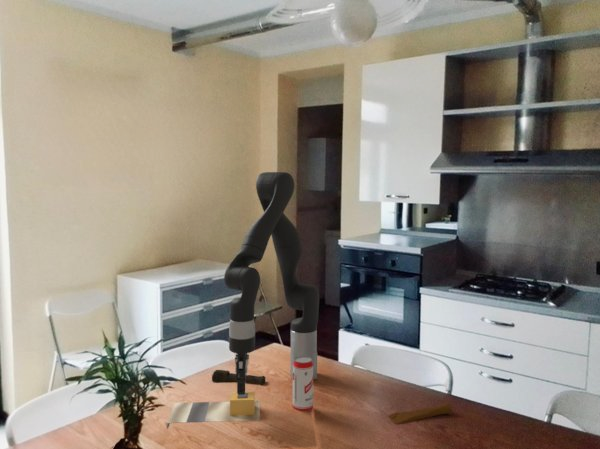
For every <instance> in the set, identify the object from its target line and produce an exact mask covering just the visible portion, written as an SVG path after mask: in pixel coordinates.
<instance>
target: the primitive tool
mask: <svg viewBox="0 0 600 449" xmlns="http://www.w3.org/2000/svg"><path fill="white" fill-rule="evenodd" d="M452 410H453V409H452V407H451V404H450V403H449V402H444V403H443V404H440V405H437V406H433V407H429V408H423V409H416V410H411V411H410V410H409V411H403V412H396V411H395V412H393V413H391V414H388V418H389V419H390V421H391V422H392V423H393V424H395V425H400V424H401V425H402V424H405V423H409V422H413V421H418V420H422V419H427V418H431V417H435V416H442V415H452V413H453V411H452Z"/></svg>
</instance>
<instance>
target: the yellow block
mask: <svg viewBox="0 0 600 449" xmlns="http://www.w3.org/2000/svg"><path fill="white" fill-rule="evenodd" d="M255 401H256V392H255V391H245V394H244V395H238V394H237V391H231V394H230V398H229V402H230V415H254V413H255Z"/></svg>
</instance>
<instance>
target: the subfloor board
mask: <svg viewBox="0 0 600 449" xmlns="http://www.w3.org/2000/svg"><path fill="white" fill-rule="evenodd" d="M260 409H261V400H255V413H254V415H230V401H201V402H200V401H199V402H174V405H173V406H172V409H171V411H170V414H169V416H168V419H167V421H166V429H168V428H169V427H170V424H174V423H175V424H178V423H179V424H180V423H181V424H182V423H183V424H184V423H185V424H186V423H211V422H212V423H217V422H248V421H249V422H250V421H252V422H253V421H260V415H261V414H260V411H261V410H260Z"/></svg>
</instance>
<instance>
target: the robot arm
mask: <svg viewBox="0 0 600 449" xmlns="http://www.w3.org/2000/svg"><path fill="white" fill-rule="evenodd" d="M255 190H256V194H257V196H258V200H259V203H260V205H261V208H262V210H263V213H262V214H260V216H259V217H258V218H257V219H256V220H255V221H254V222H253V223H252V225H250V227H249V229H248V230H247V232H246V234H245V236H244V238H243V241H242V243H241V247H240V249H239V251H238V252H237V253H236V254H235V256H234V257H233V258H232V260H231V261H230V263H229V264H228V266H227V267H226V270H225V272H224V277H223V278H224V284H225V286H226V288H228V289H231V290H234V291H241V296H240V297H235V298H233V299H232V300H231V301H230V303H229V304H230V305H229V326H228V332H229V333H228V349H229V351H230V352H231V353H234V354H235V357H234V364H235V368H234V369H235V370H234V371H235V374H236V382H235V383H236V385H237V386H236V392H237V394H238V395H244V394H245V392H246V383H245V382H246V380H247V375H248V369H249V368H248V367H249V364H250V362H249V360H250V354H249V353H252V352H254V351H255V349H256V324H255V305H256V304H255V303H256V300H257V296H258V292H259V290H260V289H259V288H260V285H261V276H260V273H259V271H258V270H257V268H256V267H252V266H251V267H250V265H252V264H257V263H260V262H261V261H262V260H263V257H264V255H265V252H266V249H267V248H268V247H267V246H268V243H269V241H270V238H272V244H273V248H274V252H275V254H276V258H277V262H278V266H279V271H280V274H281V280H282V285H283V292H284V298H285V302H286V304H287V306H288V307H289V308H290V309H292V310H296V311H297V310H298V311H302V317H297V318H294V319H293V320H291V322H290V372H289V373H290V377H291V379H292V380H293V363H294V361H295V358H296V357H300V356H307V357H310V358H311V359H312V360H311V361H312V363H313V380H318V350H317V347H318V346H317V345H318V344H317V342H318V339H317V338H318V337H317V336H318V334H317V333H318V331H317V330H318V322H319V308H320V291H319V288H318V287H317V286H315V285H312V284H307V283H306V284H305V283H300V281H299V279H298V274H297V273H298V272H297V271H298V268H299V265H300V263H301V260H302V257H303V255H304V254H303V253H304V248H303V244H302V239H301V236H300V231H298V228H297V227H296V226H295V225H294V224H293V222H292V221H291V220H290V219H289V218H288V216H286V214H285V213H284V212H285V210H286V208H287V206H288V205H289V202H290V201H291V199H292V197H293V194H294V191H295V180H294V177H293V176H292V174H290V173H289V172H286V171H285V172H284V171H272V172H271V171H268V172H267V171H266V172H261V173H259V174H258V176H257V177H256V181H255Z"/></svg>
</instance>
